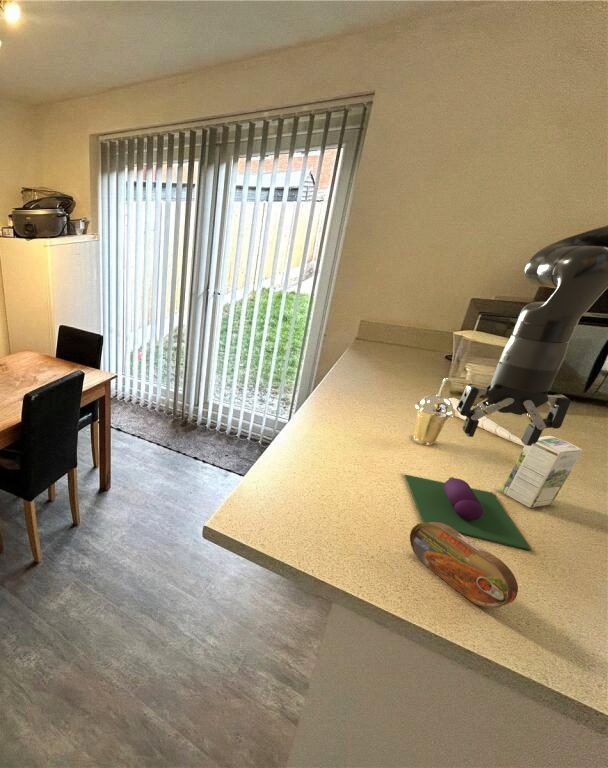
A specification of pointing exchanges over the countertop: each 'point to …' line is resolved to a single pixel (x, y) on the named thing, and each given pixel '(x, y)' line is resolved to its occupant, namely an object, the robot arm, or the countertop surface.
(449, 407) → the cup with straw
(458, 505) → the eggplant
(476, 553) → the tin
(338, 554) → the countertop surface
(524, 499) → the syrup box
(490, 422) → the unicorn horn
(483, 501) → the cloth
